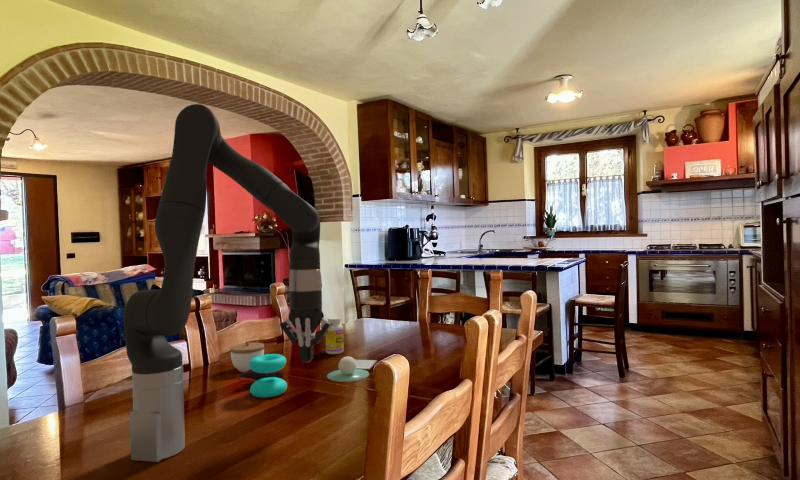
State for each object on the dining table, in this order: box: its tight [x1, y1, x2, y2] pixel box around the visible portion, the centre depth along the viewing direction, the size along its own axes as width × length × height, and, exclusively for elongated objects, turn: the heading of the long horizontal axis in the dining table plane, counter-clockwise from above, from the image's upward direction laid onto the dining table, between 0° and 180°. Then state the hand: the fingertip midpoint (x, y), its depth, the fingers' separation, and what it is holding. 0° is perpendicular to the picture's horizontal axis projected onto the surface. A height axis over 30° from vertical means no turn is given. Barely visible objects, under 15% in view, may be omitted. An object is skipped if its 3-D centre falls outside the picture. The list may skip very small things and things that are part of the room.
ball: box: [338, 356, 357, 375], centre depth 145 cm, size 6×6×6 cm
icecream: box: [239, 369, 284, 381], centre depth 139 cm, size 7×7×15 cm
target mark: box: [326, 369, 370, 383], centre depth 144 cm, size 13×13×1 cm
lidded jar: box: [230, 340, 265, 373], centre depth 153 cm, size 11×11×9 cm
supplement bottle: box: [325, 316, 345, 355], centre depth 173 cm, size 7×7×13 cm
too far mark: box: [354, 359, 378, 370], centre depth 156 cm, size 10×10×1 cm
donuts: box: [249, 353, 288, 399], centre depth 129 cm, size 10×10×10 cm
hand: (306, 361), depth 109 cm, fingers closed
